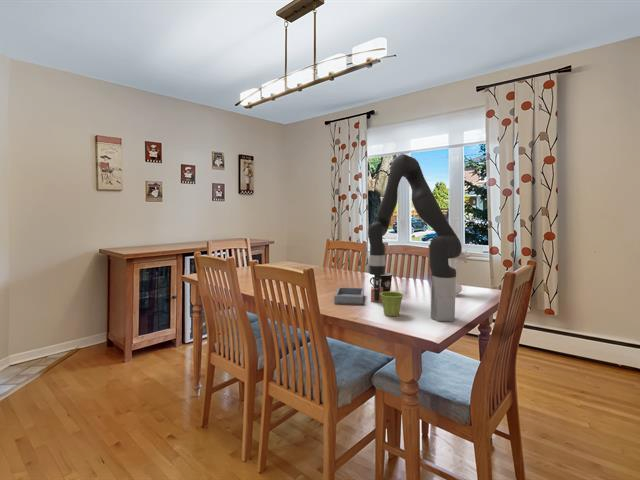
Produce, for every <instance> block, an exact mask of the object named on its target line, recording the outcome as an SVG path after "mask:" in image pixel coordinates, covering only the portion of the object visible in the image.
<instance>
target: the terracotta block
mask: <svg viewBox="0 0 640 480" xmlns="http://www.w3.org/2000/svg"><path fill="white" fill-rule="evenodd" d="M375 290H379V289H378V288H375ZM382 292H383V287H381V288H380V293H382ZM380 293H379V301H375V300H374V295H375V293H374V288H373V286H371V287H370V303H383V300H382V296H381V295H380Z"/></svg>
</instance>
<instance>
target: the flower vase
mask: <svg viewBox="0 0 640 480" xmlns="http://www.w3.org/2000/svg"><path fill="white" fill-rule="evenodd" d="M467 251H468V250H467V248H464V249H463V251H461V254H460V255H459V256H458V257H456V258H450V259H448V264H449V266H450V267H452V268H454V269H455V270H456V271H457V262H460V263H461V262H464V263H465V264H467V263H468V259H467V258H470V257H471V256H472V255H471V253H467ZM462 291H463V287H462V285H461V284H460V283H459V281H458V280H457V278H456V294H455V297H458V296H459V294H460V293H461V292H462Z"/></svg>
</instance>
